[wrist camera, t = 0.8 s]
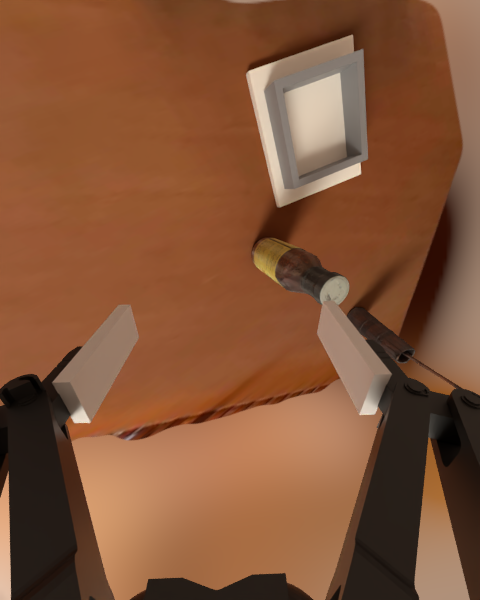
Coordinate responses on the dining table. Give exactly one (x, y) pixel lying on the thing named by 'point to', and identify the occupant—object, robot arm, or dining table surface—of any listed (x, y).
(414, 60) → the dining table surface
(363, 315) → the butter churn
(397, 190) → the dining table surface
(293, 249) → the sauce bottle
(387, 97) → the dining table surface
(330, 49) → the bottle stand
